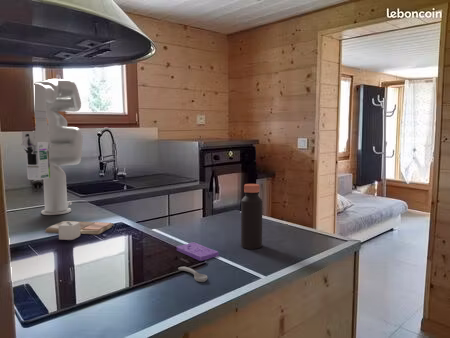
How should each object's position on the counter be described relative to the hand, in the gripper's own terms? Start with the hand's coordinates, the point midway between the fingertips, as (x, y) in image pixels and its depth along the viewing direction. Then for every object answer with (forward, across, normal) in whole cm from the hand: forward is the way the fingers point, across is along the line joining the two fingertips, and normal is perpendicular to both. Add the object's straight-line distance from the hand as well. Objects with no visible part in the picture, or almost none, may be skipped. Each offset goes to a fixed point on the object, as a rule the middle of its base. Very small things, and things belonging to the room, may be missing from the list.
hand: (38, 163), depth 136 cm
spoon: (+25, +38, +70) cm, 83 cm away
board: (+25, 0, +17) cm, 30 cm away
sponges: (+25, +21, +67) cm, 75 cm away
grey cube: (+25, +11, +19) cm, 34 cm away
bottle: (+25, +12, +83) cm, 88 cm away
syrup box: (+6, 0, 0) cm, 6 cm away
